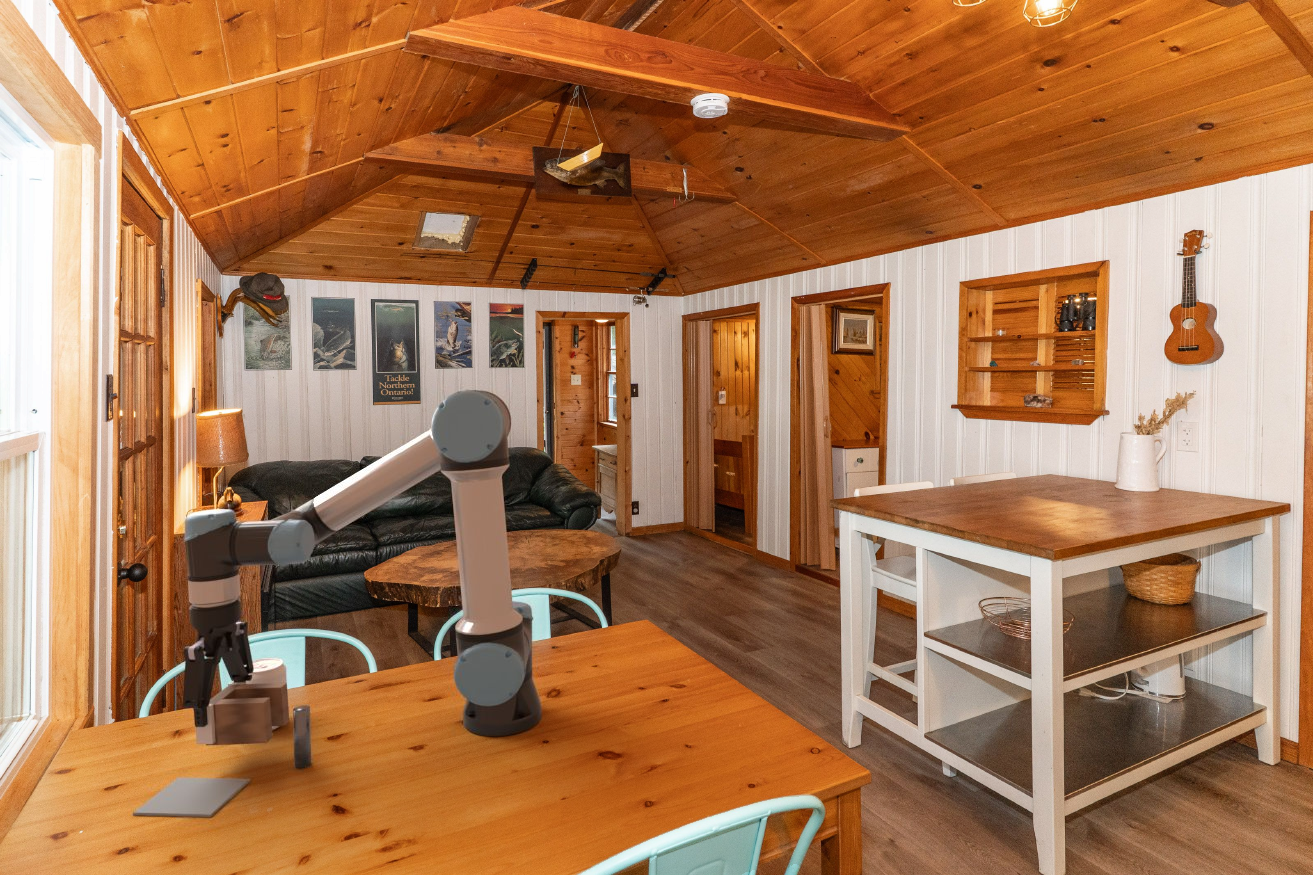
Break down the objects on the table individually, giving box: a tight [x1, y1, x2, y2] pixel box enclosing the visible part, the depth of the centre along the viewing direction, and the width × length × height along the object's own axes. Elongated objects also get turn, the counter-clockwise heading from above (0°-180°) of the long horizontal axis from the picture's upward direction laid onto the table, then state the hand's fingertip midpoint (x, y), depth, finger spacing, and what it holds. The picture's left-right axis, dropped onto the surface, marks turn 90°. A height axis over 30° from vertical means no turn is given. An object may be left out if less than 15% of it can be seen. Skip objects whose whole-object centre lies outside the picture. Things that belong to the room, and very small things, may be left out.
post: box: [292, 704, 312, 770], centre depth 124 cm, size 3×3×10 cm
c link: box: [205, 682, 290, 747], centre depth 124 cm, size 10×8×7 cm
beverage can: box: [244, 657, 288, 731], centre depth 138 cm, size 8×8×12 cm
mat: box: [132, 776, 251, 818], centre depth 114 cm, size 12×10×1 cm
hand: (223, 730), depth 124 cm, fingers closed on c link, 8 cm apart
